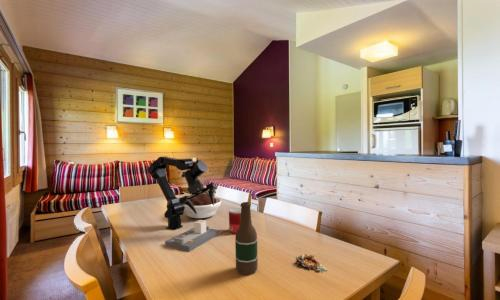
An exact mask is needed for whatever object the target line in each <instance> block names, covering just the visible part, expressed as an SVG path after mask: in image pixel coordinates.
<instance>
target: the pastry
mask: <svg viewBox="0 0 500 300" xmlns="http://www.w3.org/2000/svg"><path fill="white" fill-rule="evenodd" d="M315 258H316V256H315V255H314V254H307V253H304V254H300V255H298V256H295V259H296V263H295V262H293V263H292V265H293V266H296V267H299V266H300V265H301V266H303V267H305V268H309V271H314V272H316V273H321V274H323V273H326V272H327V268H326V267H325V266H324V265H322V264H321V263H320V262H319V261H318V260H316V259H315Z"/></svg>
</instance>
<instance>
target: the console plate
mask: <svg viewBox="0 0 500 300" xmlns="http://www.w3.org/2000/svg"><path fill="white" fill-rule="evenodd" d="M217 236H220V230H219V229H214V228H210V226H209V225H206V231H205V232H203V233H202V234H200V233H195V229H194V227H192V228H191V229H189V230H187V231H184V232H181V233H179V234H178V235H176V236H174V237H171V238H169V239H166V240H164V246H165V247H170V248H173V249H177V250H182V251H187V252H191V251H194V250H195V249H197V248H198V247H199V246H201V245H204V244H205V243H207V242H208V241H210V240H212V239H214V238H216V237H217Z"/></svg>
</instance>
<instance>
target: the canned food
mask: <svg viewBox="0 0 500 300" xmlns="http://www.w3.org/2000/svg"><path fill="white" fill-rule="evenodd" d="M240 222H241V208H230V209H229V210H228V226H229V227H228V229H229V230H228V231H229V233H230V234H234V235H236V232H237V230H238V228H239V226H240Z"/></svg>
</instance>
